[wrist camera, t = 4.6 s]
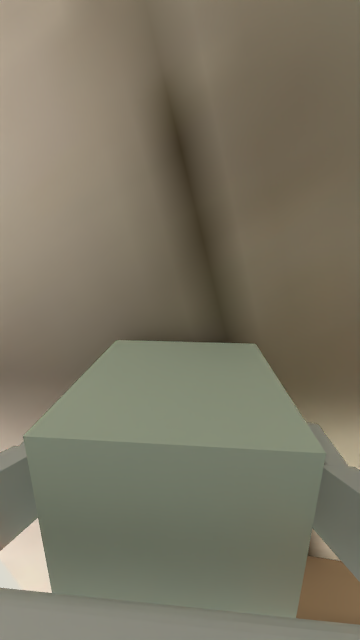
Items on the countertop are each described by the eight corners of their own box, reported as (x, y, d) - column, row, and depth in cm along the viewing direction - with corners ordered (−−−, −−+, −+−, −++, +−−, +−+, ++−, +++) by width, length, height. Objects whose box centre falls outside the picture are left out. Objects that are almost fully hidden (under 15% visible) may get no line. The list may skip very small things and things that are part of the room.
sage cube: (116, 339, 9) (23, 436, 4) (255, 343, 9) (326, 453, 4) (123, 453, 10) (58, 626, 6) (245, 460, 10) (289, 652, 5)
